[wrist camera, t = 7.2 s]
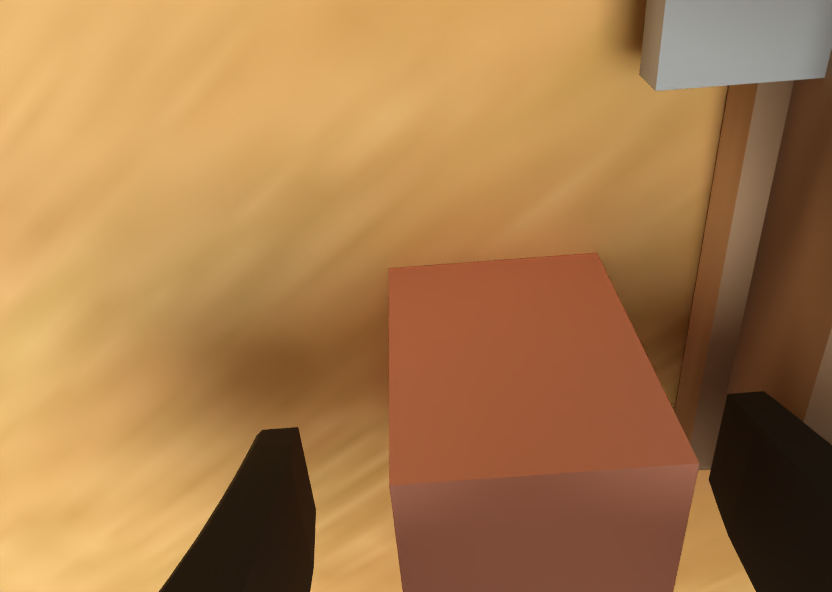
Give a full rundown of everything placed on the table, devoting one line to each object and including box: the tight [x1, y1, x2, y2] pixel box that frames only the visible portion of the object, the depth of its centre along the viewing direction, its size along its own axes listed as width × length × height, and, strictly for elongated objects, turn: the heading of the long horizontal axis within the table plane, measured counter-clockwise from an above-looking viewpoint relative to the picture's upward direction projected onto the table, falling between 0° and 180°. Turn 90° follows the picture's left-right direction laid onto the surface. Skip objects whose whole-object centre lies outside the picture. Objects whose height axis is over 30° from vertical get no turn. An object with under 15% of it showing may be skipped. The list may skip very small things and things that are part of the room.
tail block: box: [389, 253, 699, 592], centre depth 13 cm, size 4×4×6 cm
